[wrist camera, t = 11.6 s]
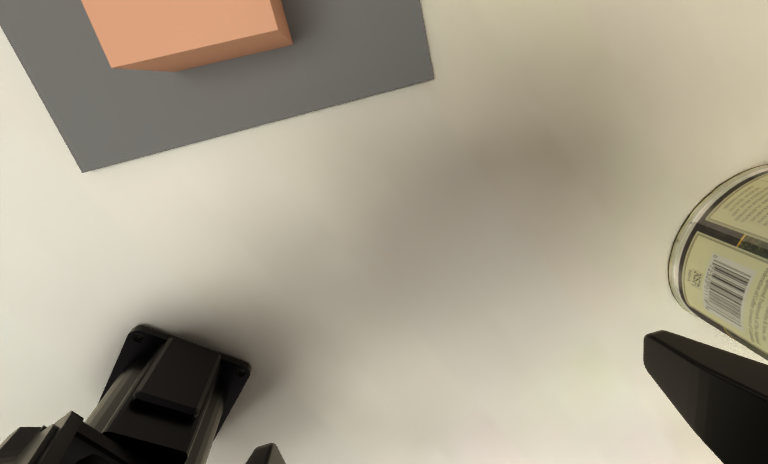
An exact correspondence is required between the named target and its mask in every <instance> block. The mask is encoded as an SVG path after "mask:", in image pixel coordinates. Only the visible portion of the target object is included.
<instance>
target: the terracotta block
mask: <svg viewBox="0 0 768 464" xmlns="http://www.w3.org/2000/svg"><path fill="white" fill-rule="evenodd" d="M81 1H82V4H83V6H84V8H85V10H86V13H87V15H88V17H89V19H90V21H91V24H92V26H93V28H94V30H95V33H96V35H97V37H98V39H99V41H100V44H101V46H102V48H103V50H104V53H105V55H106V57H107V59H108V62H109V64H110V66H111V68H120V69H135V70H151V71H166V72H177V71H182V70H186V69H190V68H195V67H199V66H203V65H208V64H212V63H216V62H221V61H225V60H229V59H233V58H238V57H242V56H246V55H251V54H255V53H259V52H264V51H268V50H272V49H277V48H281V47H285V46H290V45H293V42H292V38H291V34H290V31H289V27H288V24H287V20H286V16H285V13H284V9H283V6H282V2H281V0H81Z"/></svg>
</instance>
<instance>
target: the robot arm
mask: <svg viewBox="0 0 768 464" xmlns="http://www.w3.org/2000/svg"><path fill="white" fill-rule="evenodd" d="M136 334H139V335H141V336H142V337H143V338H140V337H138V336H137V335H136ZM643 361H644V365H645V368H646V369H647V371H648V373H649V374H650V375H651V377H652V378H653V379H654V380H655V382H656V383H657V384H658V386H659V387H660V388H661V389H662V391H663V392H664V393H665V395H666V396H667V397H668V399H669V400H670V401H671V402H672V404H673V405H674V406H675V408H676V409H677V410H678V411H679V413H680V414H681V415H682V417H683V418H684V419H685V421H686V422H687V423H688V424H689V425H690V427H691V428H692V429H693V430H694V432H695V433H696V434H697V435H698V436H699V437H700V438H701V439H702V441H703V442H704V443H705V444H706V445H707V446H708V447H709V448H710V449H711V450H712V451H713V452H714V454H715V455H716V456H717V457H718V458H719V459H720V460H721V461H722V462H723V463H724V464H768V365H766V364H763V363H760V362H757V361H754V360H751V359H748V358H745V357H742V356H739V355H736V354H733V353H730V352H728V351H725V350H722V349H719V348H716V347H713V346H710V345H707V344H704V343H701V342H698V341H695V340H692V339H689V338H686V337H683V336H680V335H677V334H674V333H671V332H668V331H664V330H660V331H656V332H653V333H649V334H647V335H645V337H644V353H643ZM238 370H244V371H245V372H240V371H238ZM250 372H251V366H250V364H249V363H247V362H245V361H242V360H239V359H236V358H233V357H230V356H228V355H225V354H222V353H219V352H216V351H213V350H210V349H208V348H205V347H202V346H199V345H196V344H193V343H190V342H188V341H185V340H182V339H179V338H176V337H173V336H170V335H168V334H165V333H162V332H159V331H156V330H153V329H150V328H148V327H145V326H136V327H134V328H133V329H132V331H131V332H130V333H129V334H128V336H127V338H126V341H125V343H124V345H123V348H122V350H121V352H120V355H119V357H118V359H117V361H116V364H115V366H114V368H113V371H112V373H111V375H110V378H109V380H108V382H107V384H106V387H105V389H104V391H103V394H102V396H101V398H100V401H99V403H98V405H97V407H96V408H95V409H94V411H93V412H92V413H91V415H90V416H89V418H88V419H87V420H86V422H83V419H84V418H82V417H81V416H79V415H78V414H76V413H75V412H73V411H70V412H69V413H68V414H66V415H65V416H64V417H62V418H61V419H60V420H59V421H57V422H56V423H55V424H52V425H51V426H49V427H46V426H42V427H20V428H18V429H17V430H16V431H14V432H13V433H12V434H11V435H9V436H8V437H7V439H6V440H5V441H4V442H3V443H2V444H1V445H0V464H206V461H207V458H208V455H209V452H210V449H211V446H212V443H213V441H214V439H215V437H216V435H217V433H218V432H219V430H220V428H221V426H222V424H223V423H224V421H225V419H226V417H227V416H228V414H229V412H230V410H231V408H232V407H233V405H234V403H235V401H236V399H237V398H238V396H239V394H240V392H241V390H242V389H243V387H244V385H245V383H246V381H247V380H248V378H249V376H250ZM246 464H286V463H285V461H284V459H283V457H282V455H281V453H280V451H279V449H278V447H277V446H276V444H274V443H269V444H266V445H262V446H259V447H257V448H256V449H255V450H254V451H253V453H252V454H251V456H250V458H249V459H248V461H247V462H246Z"/></svg>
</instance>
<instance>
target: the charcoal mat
mask: <svg viewBox="0 0 768 464" xmlns="http://www.w3.org/2000/svg"><path fill="white" fill-rule="evenodd" d="M281 2H282V6H283V9H284V13H285V16H286V20H287V24H288V27H289V31H290V34H291V38H292V42H293V45H290V46H285V47H281V48H277V49H272V50H268V51H264V52H259V53H255V54H251V55H246V56H242V57H238V58H233V59H229V60H225V61H221V62H216V63H212V64H208V65H203V66H199V67H195V68H190V69H186V70H182V71H177V72H166V71H151V70H135V69H120V68H111V66H110V64H109V62H108V59H107V57H106V55H105V53H104V50H103V48H102V46H101V44H100V41H99V39H98V37H97V35H96V33H95V30H94V28H93V26H92V24H91V21H90V19H89V17H88V15H87V13H86V10H85V8H84V6H83V4H82V1H81V0H0V26H1V28H2V30H3V31H4V33H5V35H6V37H7V39H8V40H9V42H10V44H11V46H12V48H13V49H14V51H15V53H16V55H17V57H18V58H19V60H20V62H21V64H22V66H23V67H24V69H25V71H26V73H27V75H28V76H29V78H30V80H31V82H32V84H33V85H34V87H35V89H36V91H37V92H38V94H39V96H40V98H41V100H42V101H43V103H44V105H45V107H46V109H47V110H48V112H49V114H50V116H51V118H52V119H53V121H54V123H55V125H56V127H57V128H58V130H59V132H60V134H61V136H62V137H63V139H64V141H65V143H66V145H67V146H68V148H69V150H70V152H71V154H72V155H73V157H74V159H75V161H76V163H77V164H78V166H79V168H80V170H81V172H82V173H84V172H88V171H92V170H95V169H99V168H103V167H106V166H110V165H114V164H118V163H121V162H125V161H129V160H133V159H136V158H140V157H144V156H148V155H151V154H155V153H159V152H163V151H166V150H170V149H174V148H177V147H181V146H185V145H189V144H192V143H196V142H200V141H204V140H207V139H211V138H215V137H219V136H222V135H226V134H230V133H233V132H237V131H241V130H245V129H248V128H252V127H256V126H260V125H263V124H267V123H271V122H275V121H278V120H282V119H286V118H289V117H293V116H297V115H301V114H304V113H308V112H312V111H316V110H319V109H323V108H327V107H331V106H334V105H338V104H342V103H346V102H349V101H353V100H357V99H360V98H364V97H368V96H372V95H375V94H379V93H383V92H387V91H390V90H394V89H398V88H402V87H405V86H409V85H413V84H416V83H420V82H424V81H428V80H431V79H434V76H433V71H432V65H431V60H430V54H429V49H428V43H427V38H426V32H425V27H424V21H423V16H422V10H421V5H420V0H281Z"/></svg>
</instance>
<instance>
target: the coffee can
mask: <svg viewBox="0 0 768 464" xmlns="http://www.w3.org/2000/svg"><path fill="white" fill-rule="evenodd" d="M669 281H670V286H671V289H672V292H673V294H674V297H675V299H676V300H677V301H678V302H679V304H680V305H681V306H682V307H683V308H684V309H685V310H687V311H688V312H690V313H691V314H693V315H695V316H697V317H700V318H701V319H703V320H704V321H706V322H707V323H709V324H711V325H712V326H714V327H715V328H717V329H719V330H720V331H722V332H723V333H725V334H727V335H728V336H729V337H731V338H733V339H734V340H736V341H738V342H739V343H741V344H742V345H744V346H746V347H747V348H749V349H750V350H752V351H753V352H755V353H756V354H758V355H760V356H761V357H763V358H764V359H766V360H768V165H763V166H759V167H756V168H753V169H750V170H747V171H745V172H743V173H741V174H739V175H737V176H735V177H733V178H731V179H730V180H728V181H727V182H725V183H723V184H722V185H720V186H719V187H718V188H716V189H715V190H714V191H713V192H712V193H711V194H710V195H709V196H708V197H706V198H705V199H704V200H703V201H702V202H701V203H700V204H699V205H698V206H697V207H696V208H695V210H694V211H693V212H692V213H691V215H690V217H689V218H688V219H687V220H686V222H685V224H684V225H683V227H682V228H681V230H680V232H679V234H678V236H677V238H676V240H675V242H674V246H673V250H672V254H671V257H670V263H669Z"/></svg>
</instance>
